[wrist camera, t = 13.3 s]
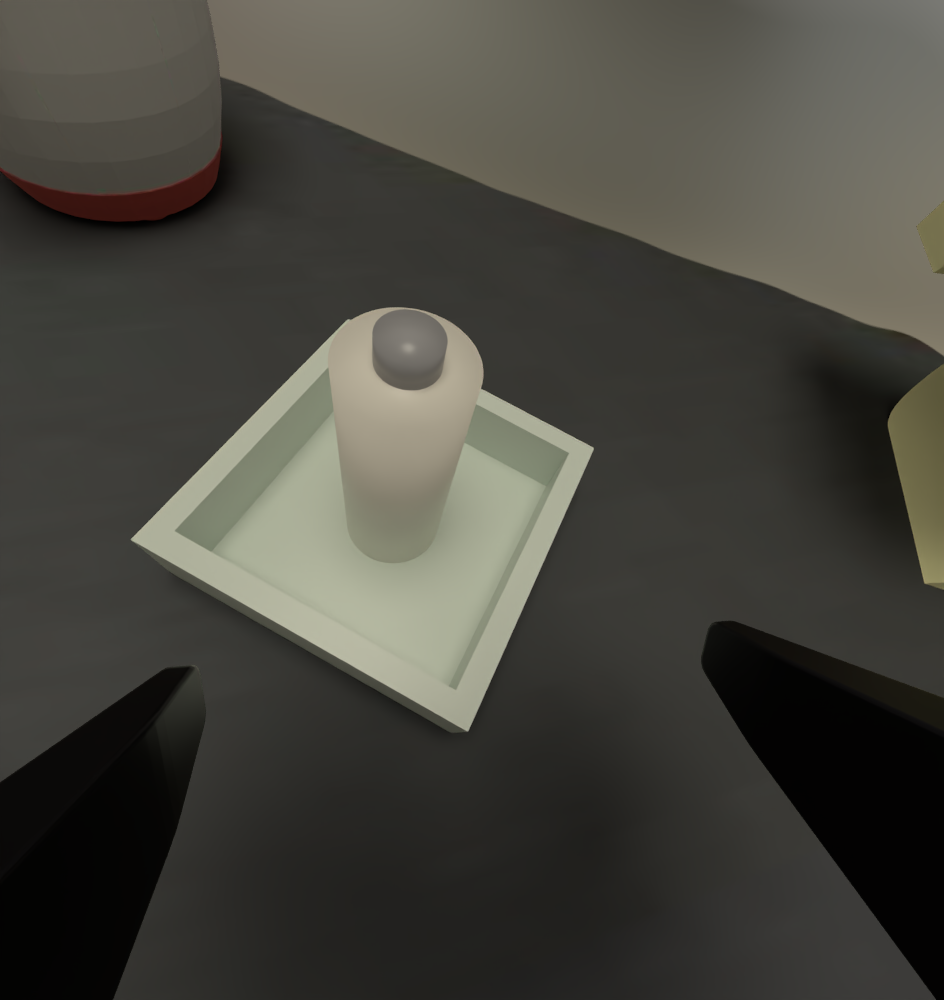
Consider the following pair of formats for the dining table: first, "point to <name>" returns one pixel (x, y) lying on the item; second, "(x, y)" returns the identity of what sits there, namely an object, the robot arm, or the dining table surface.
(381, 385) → the grey-capped cream cylinder
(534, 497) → the walled box
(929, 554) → the slatted curved stool
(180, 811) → the robot arm
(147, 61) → the citrus juicer
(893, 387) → the dining table surface
